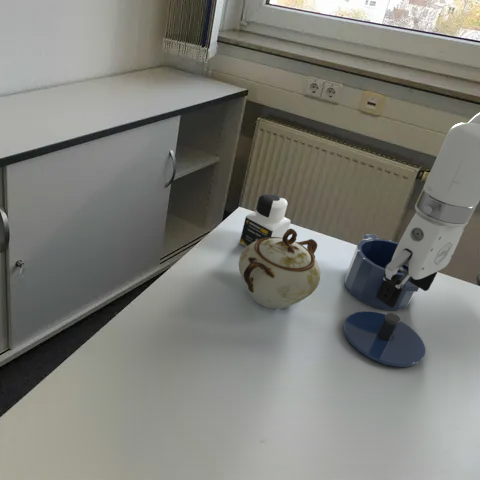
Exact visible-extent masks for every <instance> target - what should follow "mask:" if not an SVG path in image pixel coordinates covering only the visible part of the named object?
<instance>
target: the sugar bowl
mask: <svg viewBox="0 0 480 480" xmlns="http://www.w3.org/2000/svg"><path fill="white" fill-rule="evenodd" d="M289 236H290V238H289ZM297 237H298V232H297V231H296V230H295V229H294V228H289V229H288V230H287V231H286V232H285V234H284V236H283V238H280V237H266V238H262V239H260V240H258V241H255V242H253V243H251V244H250V245H248V246H245V248H244V249H243V250H242V252H241V253H240V256H239V258H238V271H239V274H240V276H241V279H242V281H243V283H244V286H245V287H246V289H247V291H248V294H249V296H250V297H251V299H252V300H253V301H255V302H256V304H258V305H260V306H261V307H264V308H267V309H270V310H284V309H286V308H288V307H290V306H293V305H296V304H297V303H300V302H302V301H303V300H305V299H306V298H308V297H309V296H311V295H312V294H313V293H314V292H315V291H316V290H317V288H318V286H319V284H320V281H321V269H320V266H319V264H318V261H317V260H316V255H315V253H316V250H317V249H318V243H317V241H316V240H315V239H312V238H310V239H307V240H303V241H297Z"/></svg>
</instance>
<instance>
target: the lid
mask: <svg viewBox="0 0 480 480" xmlns="http://www.w3.org/2000/svg"><path fill="white" fill-rule="evenodd" d="M343 332H344V335H345V337H346V339H347V340H348V342H349V343H350V345H352V347H354V348H355V350H357V351H358V352H360V353H361V354H362V355H364V356H366V357H367V358H369V359H370V360H373V361H375V362H378V363H381V364H383V365H387V366H390V367H398V368H406V367H407V368H408V367H413V366H415V365H417V364H419V363H420V362H421V361H422V360H423V359H424V357H425V355H426V346H425V343H424V341H423V339H422V338H421V337H420V335H419V334H418V333H417V332H416V331H415V330H414V329H413V328H411V327H410V326H409V325H408V324H406V323H405V322H403V321H401V317H400V316H399V315H398V314H396V313H394V312H387V313H386V314H385V313H381V312H376V311H371V310H370V311H367V310H366V311H365V310H364V311H357V312H353V313H352V314H349V316H348V317H346V319H345V321H344V324H343Z"/></svg>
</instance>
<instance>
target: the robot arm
mask: <svg viewBox="0 0 480 480" xmlns="http://www.w3.org/2000/svg"><path fill="white" fill-rule="evenodd" d="M479 203H480V112H479V113H476V115H474V116H473V117H472V118H471V119H470V120H469V121H468V122H460V123H457V124H455V125H453V126H452V127H451V128H450V129H449V130H448V132H447V134H446V136H445V138H444V140H443V143H442V145H441V147H440V150H439V151H438V154H437V155H436V158H435V160H434V162H433V165H432V167H431V169H430V171H429V174H428V176H427V178H426V180H425V182H424V185H423V187H422V189H421V191H420V193H419V196H418V198H417V199H416V202H415V205H414V209H415V213H414V215H413V217H412V218H411V220H410V222H409V223H408V225H407V227H406V228H405V230H404V233H403V234H402V236H401V238H400V240H399V242H398V243H399V244H398V246H397V248H396V250H395V253H394V255H393V258H392V261H391V262H390V263H389V264H388V265H387V266H386V270H385V274H384V277H383V282H382V285H381V287H380V289H379V291H378V293H377V296H376V297H377V298H378V299H379V300H381V301H382V302H384V303H385V304H387V305H388V306H390V307H391V308H393V307H395V306H396V304H397V301H398V299H399V297H400V295H401V293H402V291H403V289H404V288H403V287H402V286H403V285H404V283H405V282H406V281H407V280H408V279H409V278H410V276H411V279H410V282H411V283H412V284H414V285H416V286H417V287H419V289H421V290H422V291H424V292H427V291H429V290H430V288H431V286H432V284H433V282H434V280H435V278H436V276H437V274H438V272H439V271H441V270H443V269H444V268H446V267H447V266H448V265H449V264H450V261H451V260H452V258H453V255H454V253H455V250H456V249H457V246H458V245H459V242H460V240H461V238H462V235H463V233H464V230H465V227H466V226H467V225H469V222H470V220H471V218H472V216H473V214H474V213H475V210H476V208H477V207H478V204H479ZM403 265H406V266H407V267H409V271H408V270H407V269H405V268H403V267H402V266H403ZM398 270H399V271H400V272H402V273H404V275H403V277H402V278H401V279H400V280H399V277H398V276H397V275H396V274H397V272H398Z"/></svg>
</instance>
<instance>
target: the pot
mask: <svg viewBox="0 0 480 480" xmlns="http://www.w3.org/2000/svg"><path fill="white" fill-rule="evenodd" d="M362 238H363V239H362V240H361V241H359V242H358V244H357V245H356V248H355V250H354V253H353V255H352V258H351V261H350V263H349V266H348V268H347V271H346V273H345V276H344V286H345V288H346V290H347V291H348V293H350V295H351V296H352V297H354V298H355V299H357V300H358V301H359V302H361V303H362V304H363V303H364V304H366V305H367V306H370V307H372V308H375V309H379V310H384V311H399V310H403V309H405V308H407V307H408V306H409V304H410V302H411V301H412V299H413V297H414V295H415V293H416V292H418V291H419V289H420V288H419V287H417V286H416V285H414V284H412V283H411V282H410V279H411V276H410V278H409V279H408V280H407V281H406V282H405V283H404V285H403V286H402V287H403V288H404V289H403V291H402V293H401V295H400V297H399V299H398V301H397V304H396V306H395V307H393V308H391V307H390V306H388V305H387V304H385V303H384V302H382V301H381V300H379V299H378V298H377V297H376V296H377V293H378V291H379V289H380V287H381V285H382V282H383V277H384V274H385V270H386V266H387V265H388V264H389V263H390V262H391V261H392V258H393V255H394V253H395V250H396V248H397V246H398V244H399V242H397V241H394V240H391V239H387V238H379V237H378V236H377V234H375V233H373V234H372V233H364V235H363V237H362ZM402 267H403V268H405V269H407V270H408V271H409V267H407V266H406V265H403V266H402ZM396 275H397V276H398V277H399V280H400V279H401V278H402V277H403V275H404V273H402V272H400V271H399V270H398V272H397V274H396Z"/></svg>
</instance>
